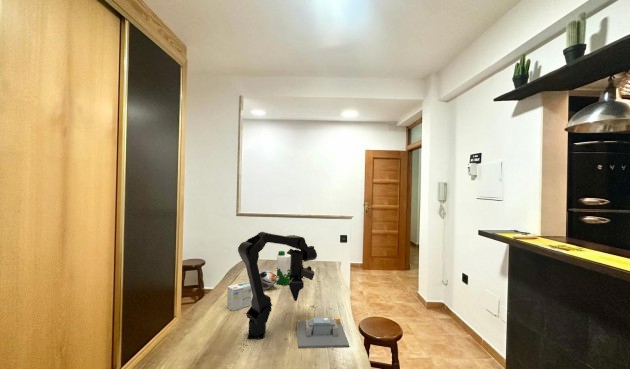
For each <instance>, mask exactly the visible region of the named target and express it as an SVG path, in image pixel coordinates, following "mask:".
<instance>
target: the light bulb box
mask: <svg viewBox="0 0 630 369" xmlns="http://www.w3.org/2000/svg"><path fill="white" fill-rule="evenodd" d="M226 292H227V296H226V298H227V300H226V308H228V309H230V311H232V312H235V311H237V310H241V309H244V308H249V307H251V306H252V305H251V301H252V297H253V294H252V290H251V286H250V282H248V281H243V282H240V283H236V284H231V285H228V286H227V291H226Z"/></svg>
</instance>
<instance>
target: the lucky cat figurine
mask: <svg viewBox="0 0 630 369" xmlns="http://www.w3.org/2000/svg"><path fill="white" fill-rule="evenodd" d="M259 273H260V277H261V282H262V286H263V291H265V290H267V289H269V288H271V287H273V286H274V285H275V284H277V281H278V279H279V277H278V276H277V274H275V273H274V272H273V271H272V270H270V269H269V270H268V269H263V270H261V271H260V270H259Z"/></svg>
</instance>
